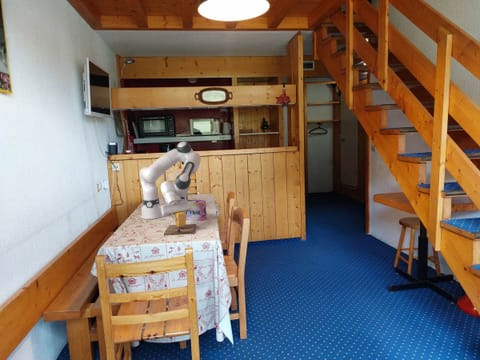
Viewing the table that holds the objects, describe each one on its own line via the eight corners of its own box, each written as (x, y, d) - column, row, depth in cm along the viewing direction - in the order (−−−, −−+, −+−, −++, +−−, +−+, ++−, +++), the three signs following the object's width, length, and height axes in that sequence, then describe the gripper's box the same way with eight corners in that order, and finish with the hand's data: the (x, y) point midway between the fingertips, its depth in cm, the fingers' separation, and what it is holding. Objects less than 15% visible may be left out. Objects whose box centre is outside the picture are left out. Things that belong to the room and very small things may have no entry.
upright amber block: (175, 225, 208) (174, 213, 207) (182, 223, 211) (181, 211, 210) (178, 226, 204) (178, 214, 203) (186, 225, 207) (185, 212, 206)
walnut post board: (169, 227, 217) (168, 217, 216) (195, 225, 217) (195, 215, 216) (164, 235, 199) (163, 224, 198) (193, 233, 199) (192, 222, 198)
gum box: (208, 218, 237) (207, 200, 235) (203, 221, 229) (202, 202, 228) (181, 216, 246) (179, 199, 244) (175, 219, 239) (173, 201, 237)
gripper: (159, 201, 205) (166, 218, 199) (187, 196, 217) (195, 213, 210) (157, 207, 209) (164, 224, 203) (185, 202, 221) (193, 218, 215)
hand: (180, 218), depth 207 cm, fingers closed on upright amber block, 5 cm apart
